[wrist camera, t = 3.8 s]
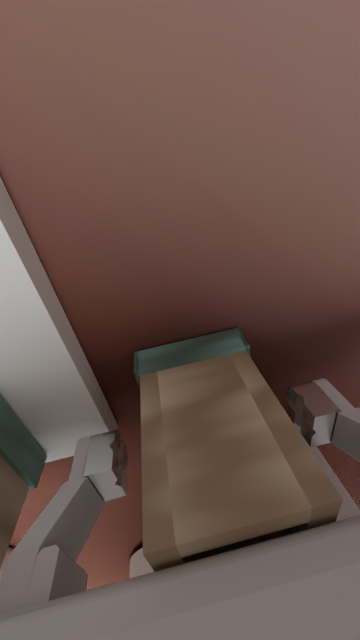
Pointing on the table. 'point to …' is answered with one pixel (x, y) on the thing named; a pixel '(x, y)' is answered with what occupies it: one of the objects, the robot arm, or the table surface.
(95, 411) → the pin board
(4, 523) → the sleeve seated
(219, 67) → the table surface
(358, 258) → the table surface
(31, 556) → the robot arm
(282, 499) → the sleeve
